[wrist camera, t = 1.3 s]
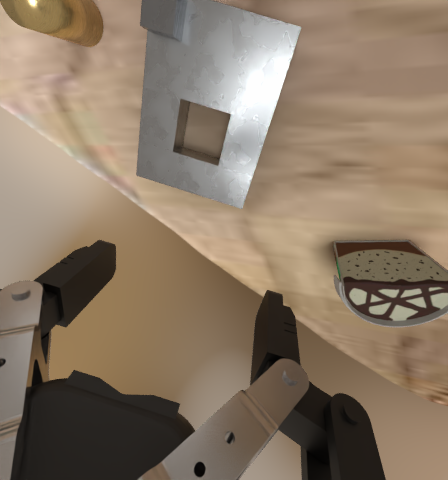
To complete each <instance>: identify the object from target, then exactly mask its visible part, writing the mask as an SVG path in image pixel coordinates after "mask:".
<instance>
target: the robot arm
mask: <svg viewBox="0 0 448 480" xmlns="http://www.w3.org/2000/svg"><path fill="white" fill-rule="evenodd" d="M115 270H116V246H115V244H112V243H109V242H105V241H102V240H98V241H97V242H95V243H94V244H93V245H91V246H90V247H87V246H86V247H83V248H80V249H77V250H75V251H74V252H72V253H71V254H69V255H68V256H67V257H66V258H64V259H63V260H61V261H60V263H57V264H56V265H54V266H53V267H52V268H50V269H49V270H48V271H46V272H45V273H43V274H42V275H40V276H39V277H38V278H37V279H35V280H34V281H19V282H15V283H13V284H10V285H8V286H6V287H5V288H3V289H0V480H239V479H240V478H241V477H242V475H243V474H244V473H245V472H246V470H247V469H248V468H249V466H250V465H251V464H252V462H253V461H254V460H255V459H256V457H257V456H258V455H259V454H260V452H261V451H262V450H263V448H264V447H265V446H266V445H267V443H268V442H269V441H270V440H271V438H272V437H273V436H274V435H275V433H276V432H277V431H278V430H280V431H281V432H282V433H284V434H285V435H287V436H288V437H289V438H291V439H292V440H293V441H295V442H296V443H297V444H299V445H300V446H301V467H302V480H386V479H385V475H384V471H383V468H382V464H381V460H380V456H379V452H378V448H377V445H376V441H375V437H374V433H373V429H372V425H371V422H370V419H369V416H368V414H367V412H366V411H365V410H364V408H363V407H362V406H361V405H360V403H359V402H357V401H356V400H355V399H354V398H352V397H351V396H349V395H346V394H342V393H339V394H335V395H334V396H333V397H331V396H330V395H328V394H327V393H325V392H323V391H322V390H320V389H319V388H317V387H316V386H314V385H313V384H312V383H311V382H310V381H309V379H308V376H307V374H306V372H305V371H304V369H303V368H302V367H301V365H300V357H299V348H298V339H297V329H296V320H295V315H294V314H293V312H292V310H291V308H290V307H287V306H284V305H283V296H282V294H280V293H276V292H273V291H269V290H267V291H266V293H265V296H264V298H263V300H262V303H261V305H260V308H259V310H258V313H257V316H256V321H255V330H254V343H253V356H252V368H251V381H250V387H249V388H248V389H246V390H245V391H243V390H241V391H239V392H238V393H237V394H235V395H234V396H233V397H232V398H231V399H230V400H229V401H228V402H227V403H226V404H224V405H223V406H222V407H221V408H220V409H219V410H218V411H217V412H216V413H215V414H213V415H212V416H211V417H210V418H209V419H208V420H207V421H206V422H205V423H204V424H202V425H201V426H200V427H199V428H198V429H197V430H196V431H195V430H194V428H193V427H192V425H191V424H190V423H189V422H188V420H186V419H185V418H184V417H183V416H182V415H181V414H179V413H178V409H179V405H180V404H179V403H176V402H173V401H170V400H167V399H163V398H161V397H157V396H154V395H125V394H122V393H120V392H118V391H117V390H116V389H114V388H113V387H111V386H110V385H109V384H107V383H106V382H104V381H103V380H102V379H100V378H98V377H95V376H92V375H88V374H85V373H82V372H79V371H75V370H74V371H73V372H72V374H71V375H70V376H69V378H66V379H65V378H64V379H56V380H50V381H49V360H50V346H51V329H52V328H53V327H54V326H55V325H60V326H63V327H67V326H68V325H69V324H70V323H71V322H72V321H73V319H74V318H75V317H76V316H77V315H78V314H79V313H80V312H81V311H82V310H83V309H84V308H85V307H86V306H87V305H88V303H89V302H90V301H91V300H92V299H93V298H94V297H95V296H96V295H97V294H98V293H99V292H100V291H101V289H103V287H104V286H105V285H106V284H107V283H108V282H109V281H110V280H111V279H112V277H113V275H114V273H115Z"/></svg>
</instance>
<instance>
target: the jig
mask: <svg viewBox="0 0 448 480" xmlns="http://www.w3.org/2000/svg"><path fill="white" fill-rule="evenodd" d="M140 26H142V27H143V28H145V29H147V30H148V31H147V44H146V57H145V70H144V83H143V96H142V109H141V122H140V135H139V148H138V160H137V173H136V175H137V176H140V177H143V178H146V179H149V180H153V181H156V182H159V183H162V184H165V185H168V186H171V187H175V188H178V189H181V190H184V191H187V192H190V193H193V194H196V195H200V196H203V197H206V198H209V199H212V200H215V201H218V202H222V203H225V204H228V205H231V206H234V207H237V208H240V209H242V208H243V205H244V202H245V198H246V195H247V192H248V189H249V186H250V183H251V180H252V177H253V174H254V171H255V168H256V165H257V162H258V159H259V156H260V153H261V150H262V146H263V143H264V140H265V137H266V134H267V131H268V128H269V125H270V122H271V119H272V116H273V113H274V110H275V107H276V104H277V101H278V98H279V95H280V91H281V88H282V85H283V82H284V79H285V76H286V73H287V70H288V67H289V64H290V61H291V58H292V55H293V52H294V49H295V46H296V43H297V40H298V36H299V33H300V30H301V27H299V26H296V25H292V24H289V23H286V22H282V21H279V20H276V19H272V18H269V17H266V16H262V15H259V14H256V13H252V12H249V11H246V10H242V9H239V8H236V7H232V6H229V5H226V4H222V3H219V2H215V1H212V0H142V6H141V22H140ZM190 102H194V103H197V104H200V105H203V106H207V107H210V108H213V109H216V110H219V111H223V112H226V113H229V114H231V116H230V120H229V125H228V129H227V133H226V137H225V141H224V145H223V149H222V153H221V157H220V159H218V158H215V157H211V156H208V155H205V154H202V153H199V152H196V151H192V150H189V149H186V148H183V147H182V146H183V140H184V134H185V128H186V122H187V116H188V110H189V104H190Z"/></svg>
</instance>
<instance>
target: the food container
mask: <svg viewBox="0 0 448 480" xmlns="http://www.w3.org/2000/svg"><path fill="white" fill-rule="evenodd" d="M333 249H334V254H335V259H336V264H337V269H338V274H339V279H340V280H339V279H338V278H337V276H336V275H334V284H335V289H336V291H337V293H338V295H339V296H340V298H341V299H342V301H343V302H344V303H345V305H346V306H347V307H348V308H349V309H350V310H351V311H352V312H353V313H354V314H355V315H357V316H358V317H360V318H361V319H363V320H365V321H367V322H370V323H373V324H375V325H380V326H386V327H408V326H415V325H420V324H423V323H426V322H430V321H432V320H435V319H437V318H439V317H441V316H443V315H445V314H446V313H448V270H446V269H445V268H444V267H442V266H441V265H440V264H439V263H437V262H436V261H435V260H434V259H432V258H431V257H430V256H429V255H427V254H426V253H425V252H424V251H422V250H421V249H420V248H419V247H417V246H416V245H415V244H414V243H412V242H411V241H410V240H366V241H333Z"/></svg>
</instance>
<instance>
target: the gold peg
mask: <svg viewBox="0 0 448 480" xmlns="http://www.w3.org/2000/svg"><path fill="white" fill-rule="evenodd" d="M0 2H1V5H2V6H3V8H4V10H5V11H6V13H7V14H8V15H9V17H10V18H11V19H12V20H13V21H14V22H16V23H17V24H18V25H20V26H22V27H25V28H28V29H31V30H34V31H38V32H41V33H44V34H47V35H50V36H54V37H57V38H60V39H63V40H67V41H70V42H73V43H76V44H79V45H83V46H86V47H92V46H95V45H96V44H98V42H99V41H100V39H101V37H102V34H103V21H102V17H101V14H100V11H99V9H98V8H97V6H96V5H95V3H94V2H93V1H92V0H0Z"/></svg>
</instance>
